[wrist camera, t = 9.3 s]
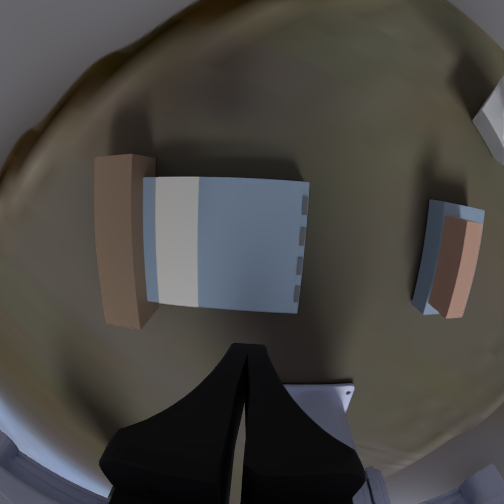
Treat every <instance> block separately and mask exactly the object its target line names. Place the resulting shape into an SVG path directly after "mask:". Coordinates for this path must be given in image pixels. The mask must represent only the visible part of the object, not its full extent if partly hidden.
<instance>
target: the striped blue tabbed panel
mask: <svg viewBox="0 0 504 504" xmlns="http://www.w3.org/2000/svg"><path fill="white" fill-rule="evenodd" d="M155 174H156V158H153V157H148V156H143V155H137V154H122V155H111V156H102V157H95V163H94V223H95V240H96V253H97V263H98V273H99V281H100V288H101V295H102V302H103V308H104V313H105V319H106V323H107V324H112V325H117V326H122V327H127V328H133V329H139V330H141V329H142V327H143V326H144V325H145V324H146V322H147V321H148V320H149V319H150V317H151V316H152V315H153V314H154V312H155V311H156V310H157V309H158V307H159V303H163V304H171V305H180V306H190V307H206V308H218V309H230V310H243V311H258V312H276V313H297V310H298V302H299V294H300V285H301V276H302V267H303V257H304V247H305V236H306V224H307V212H308V198H309V183H310V182H300V181H287V180H272V179H255V178H231V177H155Z"/></svg>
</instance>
